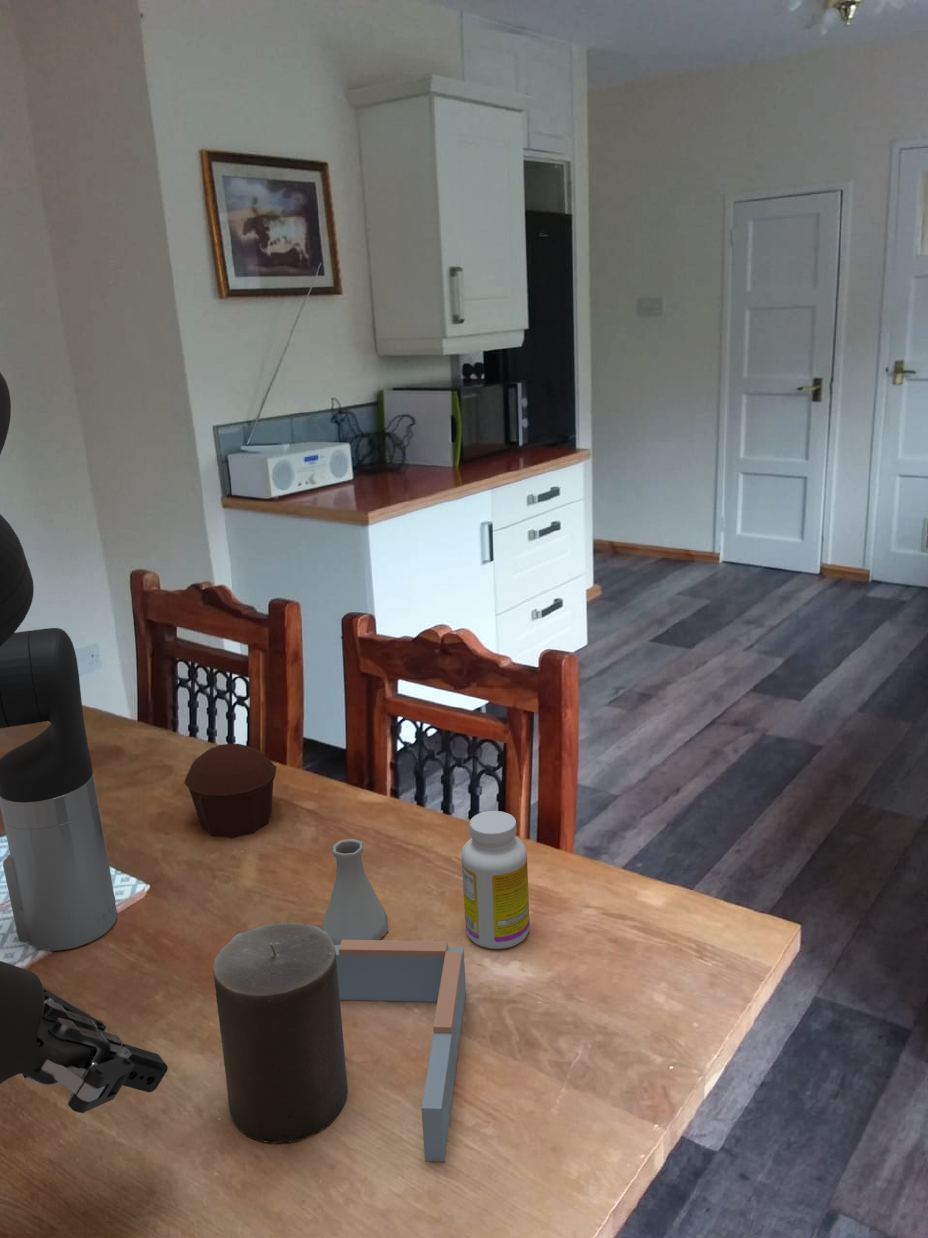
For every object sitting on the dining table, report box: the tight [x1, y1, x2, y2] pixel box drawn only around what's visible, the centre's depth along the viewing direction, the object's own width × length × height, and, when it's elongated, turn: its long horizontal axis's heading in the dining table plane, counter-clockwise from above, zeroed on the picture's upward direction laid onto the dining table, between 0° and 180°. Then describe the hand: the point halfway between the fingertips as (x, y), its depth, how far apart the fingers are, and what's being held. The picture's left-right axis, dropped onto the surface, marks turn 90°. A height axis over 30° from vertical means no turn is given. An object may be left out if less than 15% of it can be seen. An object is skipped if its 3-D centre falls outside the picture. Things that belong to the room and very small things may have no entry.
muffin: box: [184, 743, 277, 839], centre depth 126 cm, size 12×11×10 cm
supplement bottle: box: [461, 810, 530, 950], centre depth 100 cm, size 7×7×13 cm
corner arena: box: [334, 939, 467, 1163], centre depth 84 cm, size 20×20×6 cm
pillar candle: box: [212, 922, 348, 1144], centre depth 79 cm, size 10×10×15 cm
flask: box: [321, 838, 389, 945], centre depth 102 cm, size 7×7×10 cm
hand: (157, 1074), depth 73 cm, fingers closed
